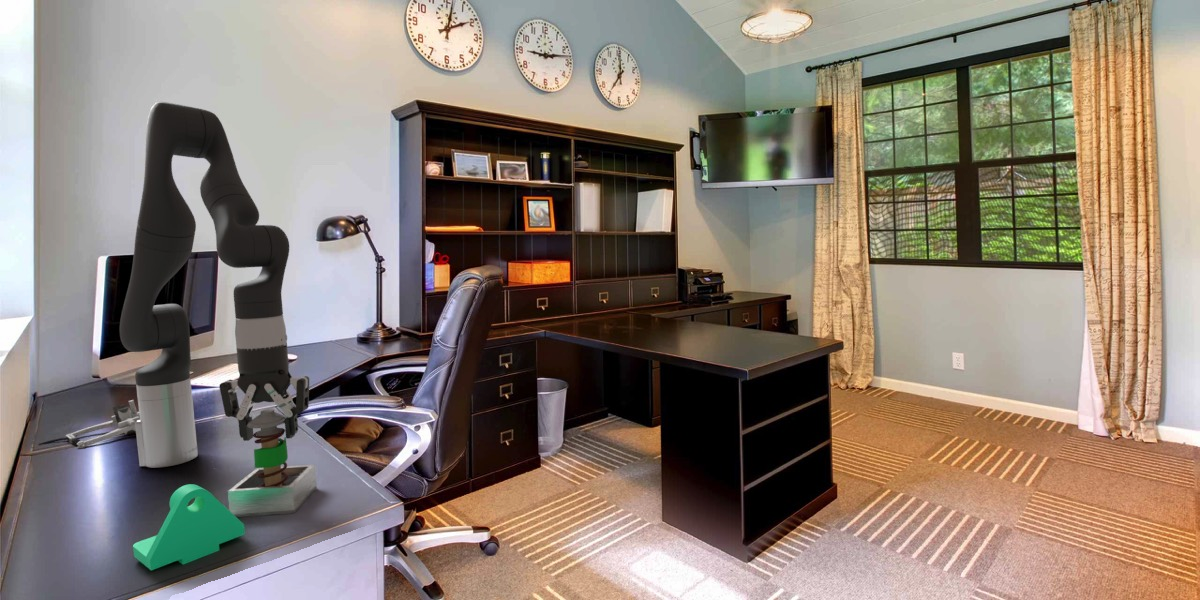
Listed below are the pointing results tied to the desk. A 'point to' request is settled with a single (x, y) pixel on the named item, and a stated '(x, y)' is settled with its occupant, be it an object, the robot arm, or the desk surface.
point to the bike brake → (121, 418)
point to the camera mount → (189, 529)
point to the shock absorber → (270, 447)
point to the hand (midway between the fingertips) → (269, 437)
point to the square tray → (272, 493)
